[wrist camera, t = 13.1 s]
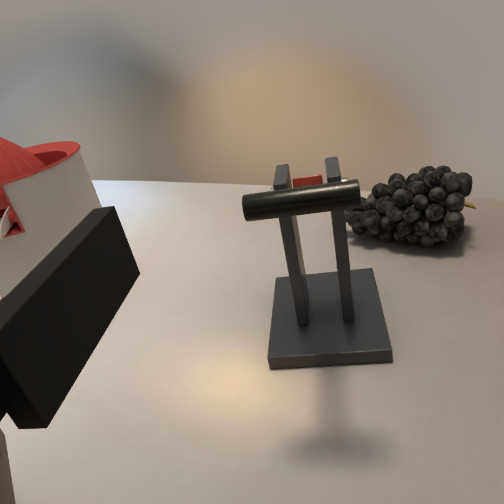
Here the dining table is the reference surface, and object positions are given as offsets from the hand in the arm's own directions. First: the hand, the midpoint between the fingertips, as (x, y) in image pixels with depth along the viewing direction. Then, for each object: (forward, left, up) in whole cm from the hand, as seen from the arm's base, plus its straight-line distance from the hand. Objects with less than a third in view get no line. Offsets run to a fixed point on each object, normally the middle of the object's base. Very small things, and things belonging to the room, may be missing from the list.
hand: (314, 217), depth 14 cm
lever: (+3, -14, -6) cm, 15 cm away
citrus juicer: (+37, -22, -20) cm, 48 cm away
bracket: (+4, -19, -20) cm, 28 cm away
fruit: (-3, -35, -20) cm, 41 cm away
